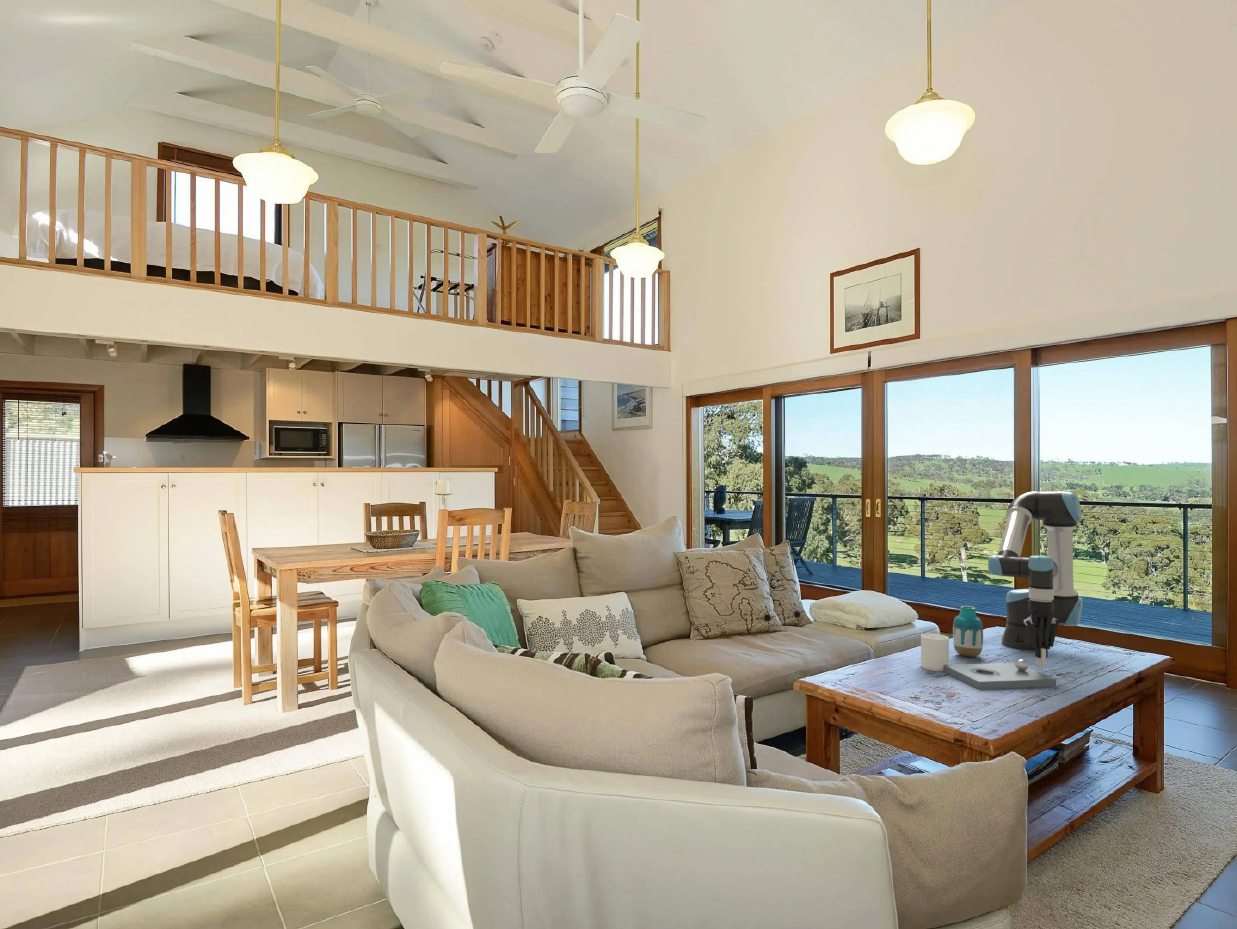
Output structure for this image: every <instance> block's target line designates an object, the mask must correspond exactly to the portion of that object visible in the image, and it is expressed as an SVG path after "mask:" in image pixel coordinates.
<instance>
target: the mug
mask: <svg viewBox="0 0 1237 929" xmlns="http://www.w3.org/2000/svg"><path fill="white" fill-rule="evenodd" d="M920 665H921V667H922V668H923V669H924V670H927V671H932V672H939V673H940V672H944V665H950V637H949V636H948V635H944V634H940V633H922V634H920Z"/></svg>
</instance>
